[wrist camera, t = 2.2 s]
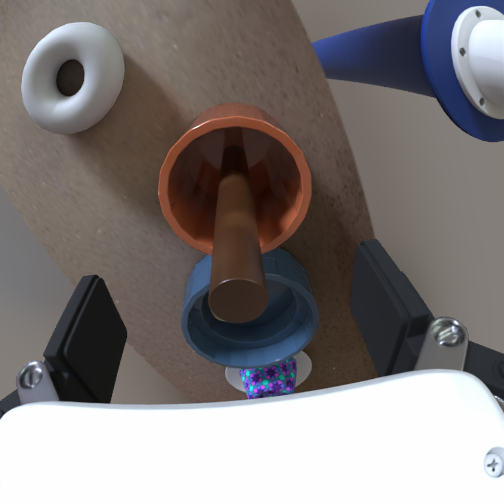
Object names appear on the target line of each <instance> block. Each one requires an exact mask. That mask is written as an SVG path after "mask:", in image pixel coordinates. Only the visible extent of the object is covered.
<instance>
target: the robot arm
mask: <svg viewBox="0 0 504 504" xmlns="http://www.w3.org/2000/svg"><path fill="white" fill-rule="evenodd" d="M451 53H452V59H453V66H454V69H455V73H456V76H457V79H458V81H459V84H460V86H461V88H462V90H463V92H464V94H465V95H466V97H467V98H468V100H469V101H470V102H471V104H472V105H473V106H474V107H475V108H476V109H478V110H479V111H480V112H482V113H483V114H485V115H487V116H490V117H492V118H496V119H504V15H503V14H502V13H500V12H499V11H497V10H495V9H493V8H490V7H487V6H477V7H470V8H468V9H466V10H465V11H463V12H462V13H461V14H460V15H459V17H458V19H457V20H456V22H455V25H454V28H453V32H452V40H451ZM350 307H351V311H352V314H353V316H354V318H355V320H356V323H357V325H358V327H359V330H360V332H361V334H362V337H363V339H364V342H365V344H366V346H367V349H368V351H369V354H370V356H371V358H372V361H373V363H374V366H375V368H376V371H377V373H378V376H379V378H376V379H371V380H367V381H362V382H357V383H352V384H347V385H342V386H337V387H331V388H326V389H320V390H315V391H309V392H303V393H296V394H289V395H282V396H275V397H266V398H258V399H249V400H239V401H227V402H213V403H196V404H165V405H130V404H129V405H128V404H110V401H111V397H112V393H113V389H114V385H115V381H116V377H117V372H118V369H119V365H120V361H121V357H122V353H123V350H124V346H125V343H126V339H127V330H126V327H125V325H124V323H123V321H122V319H121V317H120V315H119V313H118V311H117V309H116V306H115V304H114V302H113V300H112V298H111V296H110V293H109V291H108V289H107V287H106V285H105V282H104V280H103V279H102V278H99V276H98V275H89V276H83V277H82V278H81V280H80V282H79V284H78V285H77V287H76V289H75V291H74V293H73V295H72V297H71V299H70V300H69V302H68V304H67V306H66V308H65V310H64V312H63V314H62V316H61V318H60V320H59V322H58V324H57V326H56V328H55V330H54V332H53V334H52V336H51V338H50V341H49V343H48V345H47V347H46V350H45V352H44V354H43V356H44V357H45V361H44V363H43V362H42V361H37V360H36V361H31V362H29V363H27V364H26V365H25V366H23V367H22V369H21V370H20V371H19V373H18V375H17V378H16V387H17V389H16V390H15V391H13V392H12V393H11V394H9V395H8V396H6V397H5V398H4V399H2V400H1V401H0V504H504V354H502V353H500V352H497V351H495V350H492V349H489V348H487V347H484V346H482V345H479V344H476V343H474V342H471V341H469V334H468V331H467V329H466V327H465V326H464V325H463V324H462V323H461V322H459V321H458V320H456V319H454V318H451V317H439V318H436V319H435V318H434V316H433V315H432V313H431V312H430V310H429V309H428V307H427V306H426V304H425V303H424V301H423V300H422V298H421V297H420V295H419V294H418V292H417V291H416V290H415V288H414V287H413V285H412V284H411V282H410V281H409V279H408V278H407V277H406V275H405V274H404V273H403V272H401V271H400V270H399V269H398V267H397V266H396V264H395V263H394V262H393V260H392V259H391V257H390V256H389V255H388V253H387V252H386V251H385V249H384V248H383V247H382V245H381V244H380V243H379V241H378V240H377V239H373V240H366V241H361V243H360V245H358V246H356V250H355V262H354V272H353V282H352V291H351V299H350Z"/></svg>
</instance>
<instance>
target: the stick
mask: <svg viewBox="0 0 504 504" xmlns="http://www.w3.org/2000/svg"><path fill="white" fill-rule="evenodd" d="M208 302H209V306H210V309H211V310H212V312H213V313H214V314H215V315H216V316H217V317H218V318H220V319H222V320H224V321H227V322H231V323H244V322H249V321H252V320H254V319H256V318H257V317H259V316H260V315H261V314H262V313H263V312H264V311H265V309H266V307H267V305H268V294H267V287H266V280H265V274H264V267H263V260H262V254H261V247H260V241H259V234H258V228H257V221H256V215H255V208H254V202H253V195H252V189H251V183H250V176H249V170H248V164H247V157H246V153H245V151H244V149H243V148H242V147H240V146H237V145H232V146H229V147H227V148H226V149H225V150H224V152H223V155H222V163H221V172H220V180H219V190H218V199H217V208H216V218H215V229H214V239H213V250H212V261H211V273H210V285H209V298H208Z"/></svg>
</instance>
